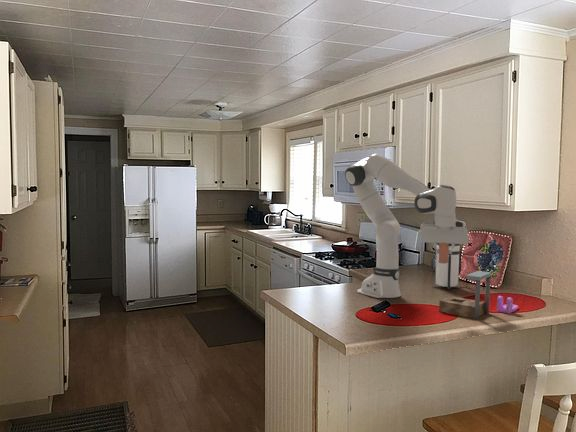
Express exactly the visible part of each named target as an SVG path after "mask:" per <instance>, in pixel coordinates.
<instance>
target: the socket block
mask: <svg viewBox="0 0 576 432" xmlns="http://www.w3.org/2000/svg"><path fill="white" fill-rule="evenodd" d="M438 304H439V306H438V312H439V311H440V312H439V313H444V312H445V314H448V315H449V314H450V315H453V316H454V315H455V316H459V317H464V318H465V317H466V318H469V319H474V316H475V299H468V298H463V297H457V296H451V295H450V296H448V297H445V298H442V299H441V300H439V303H438ZM484 314H485V301H480V304H479V317H480V316H481V315H484Z"/></svg>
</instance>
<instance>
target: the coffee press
mask: <svg viewBox="0 0 576 432" xmlns="http://www.w3.org/2000/svg"><path fill="white" fill-rule="evenodd" d="M436 247H437V249H439V243H437V245H436ZM460 247H461V244H455V247H454V248H453V250H452V254H448V263H439V253H436V252H435V268H434V269H435V270H434V273H435V274H434V282H433V284H432V286H434V285H435V286H434V288H436V287H438V286H439V287H443V288H446V290H447V291H451V288H454V287H458V286H459V287H458V289H461V288H462V287H461V284H459V282H460V280H459V279H460V275H461V271H462V251H461V250H460ZM451 248H452V246H451V244H449V249H451ZM448 252H449V251H448Z"/></svg>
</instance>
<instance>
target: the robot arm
mask: <svg viewBox="0 0 576 432" xmlns="http://www.w3.org/2000/svg"><path fill="white" fill-rule="evenodd" d="M344 178H345V180H346V183H348V184H349V185H350V186H352V189H353V192H354V195H355V197H356V199H357V201H358V203H359V204H360V206H361V208H362V210H363V211H364V213H365V214H366V216H367V217H368V218H369V219H370V221H371V222H372V224H373V225H374V226H375V231H374V232H375V249H376V266H375V267H373V268H371V272H372V274H371V275H369V276H368V277H366V278H365V279H364V280H363V281H362V283H361V287H360V288H358V289H357V291H356V293H357V294H362V295H365V296H368V297H373V298H376V299H382V298H384V299H385V298H387V299H389V298H390V299H392V298H393V299H394V298H399V297H401V296H402V294H401V290H400V284H399V278H400V268H399V259H400V258H399V256H400V255H399V235H400V234H401V231H402V230H401V229H402V228H401V224H400V222H399V221H398V220H397V218H396V217H395V216H394V214H393V212H392V210H390V209H389V207H388V206H387V204H386V202H385V200H384V199H383V197H382V196H381V194H380V192H379V191H378V189H377V187H376V186H375V185H374V180H376V181H377V180H378V181H379V182H380V184H383V185H385V186H386V187H388V188H392V189H398V190H404V191H408V192H410V193H412V194H413V195H415V198H414V202H413V204H414V208H415V210H416V211H417V212H419V214H423V215H424V214H426V215H427V214H434V221H424V222H421V223H420V228H419V229H420V232H421V234H420V241H421V243H427V244H428V243H431V244H432V243H433V245H432V246H433V247H434V250H435V254H436V253H439V249H437V243H447V244H451V246H452V248H451V249H449V250H448V251H449V252H448V254H452V250H453V248H454V247H455V244H460V245H468V244H469V232H468V229H467V228H466V227H467V223H466V222H465V221H464V220H460V219H458V218H457V216H456V207H457V193H456V189H455V188H454V187H453V186H451V185H447V184H446V185H445V184H439V185H437V186H436V187H433V188H432V189H431V188H429V186H427V185H425V184H424V183H422V182H420V181H419V180H418V179H416V178H415V177H413V176H412V175H410V174H409V173H408V172H406V171H405V170H404V169H402V168H401V167H400V166H399V165H398V164H396V163H395V162H393V161H392V160H391V159H389V158H387V157H386V156H384V155H381V154H380V153H374V154H371V155H369V156H368V157H365V158H362V159H360V160H358V161H357V162H356V163H354V164H351V165H349V166H348V167H347V168H346V169H345V171H344Z"/></svg>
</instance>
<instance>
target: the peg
mask: <svg viewBox="0 0 576 432" xmlns="http://www.w3.org/2000/svg"><path fill="white" fill-rule="evenodd" d="M448 250H449V244H447V243H439V263H448Z"/></svg>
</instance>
